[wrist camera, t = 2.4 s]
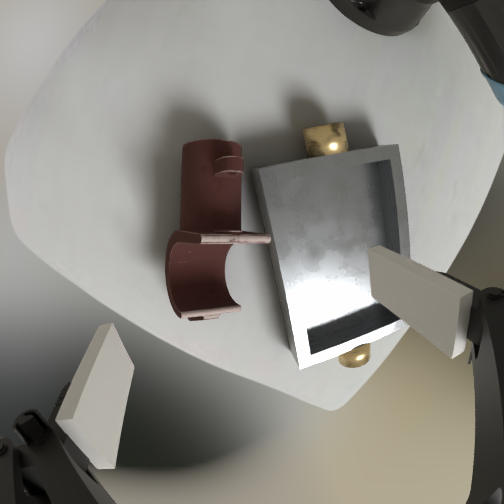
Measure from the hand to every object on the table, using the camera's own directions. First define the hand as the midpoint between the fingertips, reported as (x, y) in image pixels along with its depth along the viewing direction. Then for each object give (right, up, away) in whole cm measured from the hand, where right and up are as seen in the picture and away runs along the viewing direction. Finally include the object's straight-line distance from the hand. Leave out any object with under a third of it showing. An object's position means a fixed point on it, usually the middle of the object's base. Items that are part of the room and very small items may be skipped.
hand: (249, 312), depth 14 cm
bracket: (-4, +5, +18) cm, 19 cm away
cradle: (+10, +3, +21) cm, 23 cm away
